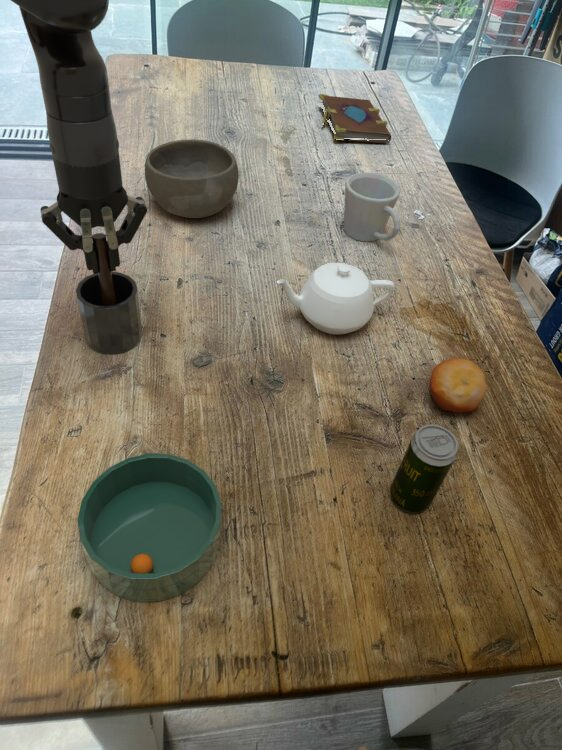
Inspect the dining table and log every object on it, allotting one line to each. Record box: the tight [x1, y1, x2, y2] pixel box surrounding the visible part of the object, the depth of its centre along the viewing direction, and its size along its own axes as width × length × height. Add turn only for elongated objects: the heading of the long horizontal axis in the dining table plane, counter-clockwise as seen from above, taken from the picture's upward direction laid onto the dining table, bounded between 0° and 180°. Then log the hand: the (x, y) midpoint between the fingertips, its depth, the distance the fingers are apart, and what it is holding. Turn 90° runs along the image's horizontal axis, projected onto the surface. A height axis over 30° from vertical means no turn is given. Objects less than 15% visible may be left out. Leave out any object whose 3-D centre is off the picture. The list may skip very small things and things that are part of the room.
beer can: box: [389, 423, 459, 514], centre depth 70 cm, size 5×5×12 cm
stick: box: [92, 232, 116, 306], centre depth 82 cm, size 2×2×16 cm
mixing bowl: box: [76, 453, 222, 603], centre depth 65 cm, size 15×15×6 cm
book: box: [318, 93, 392, 144], centre depth 149 cm, size 16×25×5 cm, turn 9°
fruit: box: [428, 357, 488, 413], centre depth 85 cm, size 8×8×8 cm
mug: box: [343, 171, 401, 243], centre depth 111 cm, size 10×15×10 cm
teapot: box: [276, 261, 396, 335], centre depth 94 cm, size 20×12×10 cm, turn 100°
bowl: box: [144, 139, 240, 219], centre depth 113 cm, size 17×18×10 cm
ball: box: [130, 554, 153, 573], centre depth 63 cm, size 2×2×2 cm
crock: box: [75, 271, 143, 355], centre depth 86 cm, size 8×8×9 cm
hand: (103, 268), depth 80 cm, fingers closed on stick, 2 cm apart
